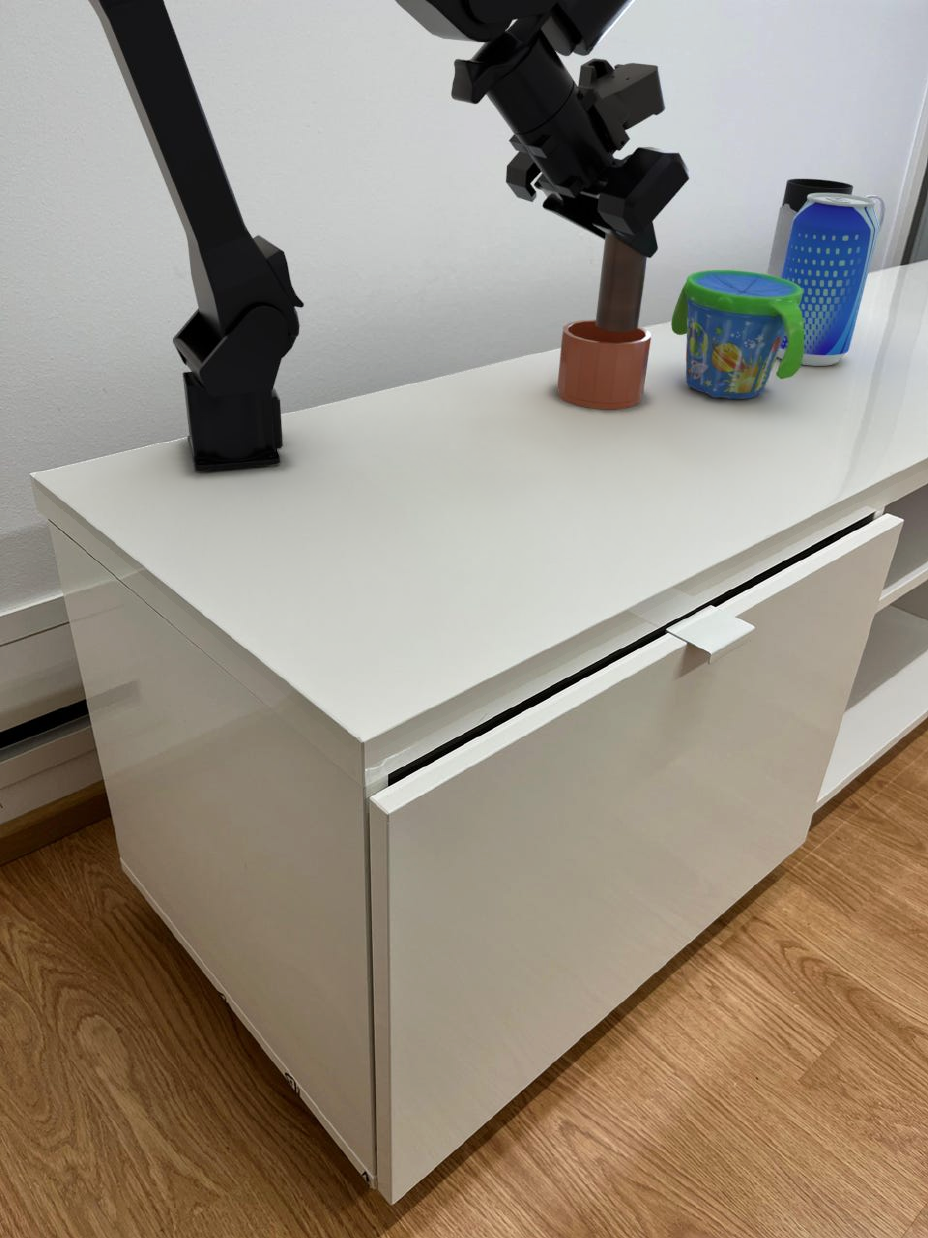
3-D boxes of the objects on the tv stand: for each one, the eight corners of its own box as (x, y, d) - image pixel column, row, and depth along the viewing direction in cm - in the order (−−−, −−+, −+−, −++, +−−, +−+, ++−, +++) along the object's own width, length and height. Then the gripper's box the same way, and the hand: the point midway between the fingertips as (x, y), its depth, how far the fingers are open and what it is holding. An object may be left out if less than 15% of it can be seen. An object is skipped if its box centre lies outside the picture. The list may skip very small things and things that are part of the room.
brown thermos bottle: (624, 334, 86) (645, 172, 79) (587, 326, 87) (604, 167, 81) (645, 326, 88) (667, 168, 81) (608, 318, 90) (627, 163, 83)
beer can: (854, 354, 108) (894, 198, 99) (834, 373, 102) (875, 208, 93) (779, 340, 111) (811, 188, 103) (755, 357, 105) (787, 197, 97)
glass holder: (742, 305, 124) (767, 177, 117) (839, 302, 128) (869, 177, 120) (779, 324, 117) (808, 189, 109) (880, 320, 121) (915, 189, 113)
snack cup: (820, 410, 92) (847, 299, 86) (727, 422, 88) (749, 306, 82) (721, 361, 104) (740, 261, 98) (636, 369, 100) (650, 265, 95)
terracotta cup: (577, 412, 88) (584, 346, 85) (544, 383, 95) (549, 321, 92) (656, 406, 91) (666, 341, 88) (618, 378, 97) (626, 317, 94)
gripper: (691, 24, 67) (777, 193, 77) (547, 16, 81) (637, 160, 91) (582, 152, 68) (682, 302, 78) (458, 123, 82) (558, 254, 92)
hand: (639, 248), depth 85 cm, fingers closed on brown thermos bottle, 4 cm apart
